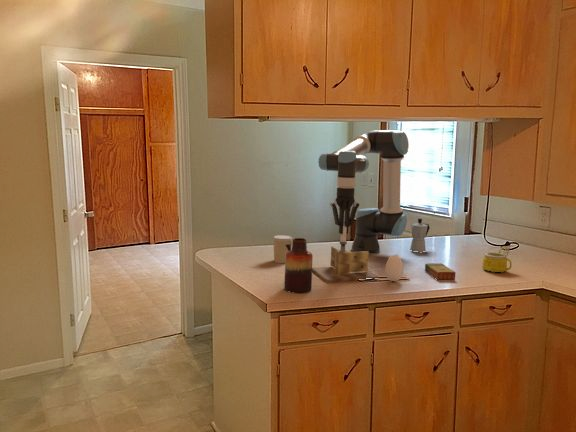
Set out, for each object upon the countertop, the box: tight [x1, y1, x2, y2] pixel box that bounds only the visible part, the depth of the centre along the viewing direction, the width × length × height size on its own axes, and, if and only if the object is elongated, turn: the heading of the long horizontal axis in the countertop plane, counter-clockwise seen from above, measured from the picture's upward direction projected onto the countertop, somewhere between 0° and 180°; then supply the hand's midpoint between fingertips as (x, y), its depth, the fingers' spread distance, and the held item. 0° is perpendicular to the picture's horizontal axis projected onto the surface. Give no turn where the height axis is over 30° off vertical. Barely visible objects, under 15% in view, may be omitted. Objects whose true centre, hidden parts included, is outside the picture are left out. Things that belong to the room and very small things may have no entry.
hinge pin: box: [339, 240, 348, 252], centre depth 222 cm, size 3×3×11 cm
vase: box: [284, 237, 314, 294], centre depth 202 cm, size 11×11×20 cm
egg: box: [384, 254, 404, 282], centre depth 217 cm, size 7×7×12 cm
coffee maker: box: [409, 218, 430, 252], centre depth 278 cm, size 15×9×18 cm, turn 129°
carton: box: [424, 262, 456, 281], centre depth 230 cm, size 8×16×4 cm, turn 4°
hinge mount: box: [312, 246, 380, 283], centre depth 226 cm, size 24×20×11 cm
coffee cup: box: [272, 234, 293, 264], centre depth 247 cm, size 9×9×12 cm
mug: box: [481, 246, 513, 273], centre depth 240 cm, size 13×11×12 cm
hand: (343, 241), depth 221 cm, fingers closed
